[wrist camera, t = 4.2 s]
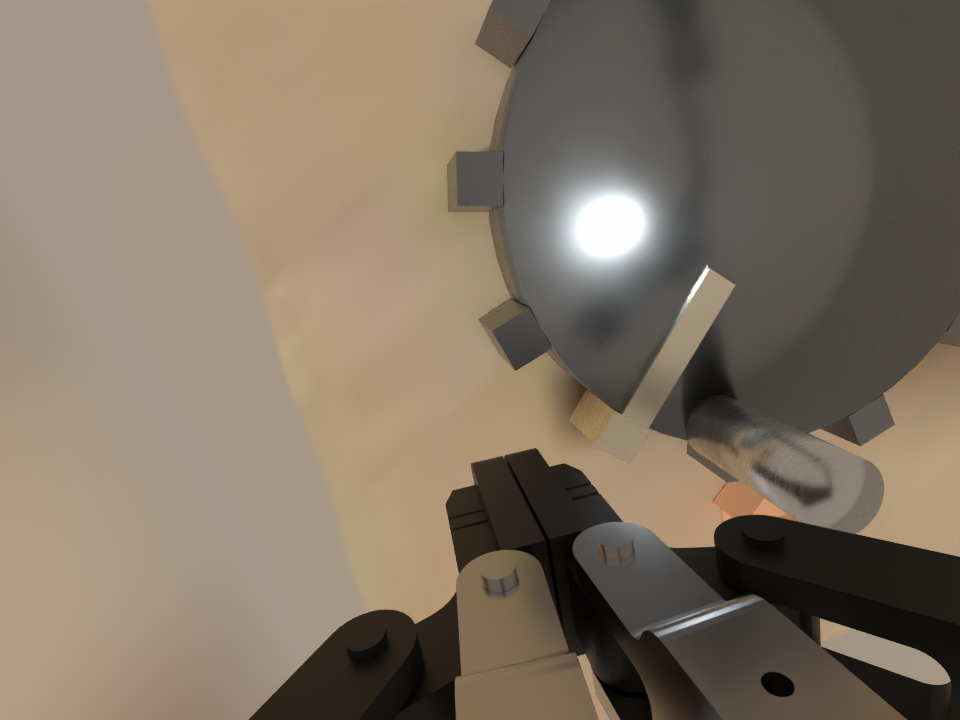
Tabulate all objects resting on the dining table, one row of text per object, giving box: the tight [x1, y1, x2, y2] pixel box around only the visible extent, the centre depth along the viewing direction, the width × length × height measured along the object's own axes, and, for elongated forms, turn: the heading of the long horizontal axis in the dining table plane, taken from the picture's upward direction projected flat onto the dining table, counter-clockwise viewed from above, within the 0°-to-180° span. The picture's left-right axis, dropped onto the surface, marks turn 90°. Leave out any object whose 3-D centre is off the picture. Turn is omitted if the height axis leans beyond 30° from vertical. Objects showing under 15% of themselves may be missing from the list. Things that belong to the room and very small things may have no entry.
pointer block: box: [713, 481, 797, 522], centre depth 16 cm, size 3×2×2 cm, turn 11°
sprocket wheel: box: [447, 0, 960, 534], centre depth 11 cm, size 15×15×6 cm
